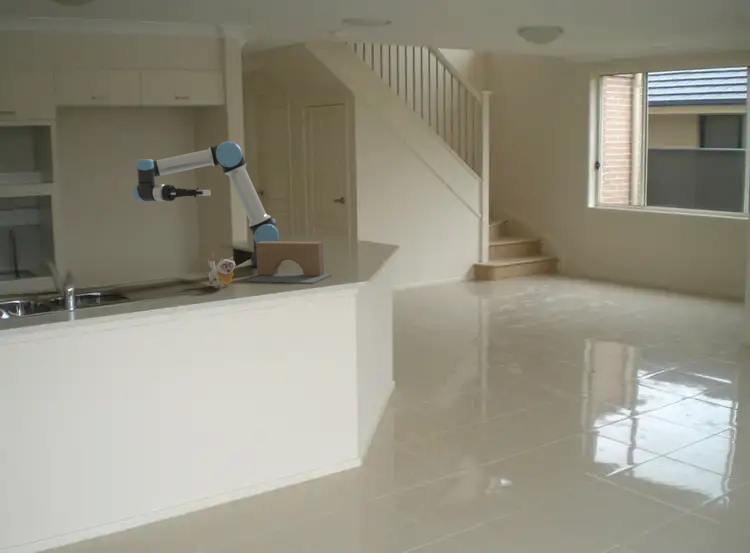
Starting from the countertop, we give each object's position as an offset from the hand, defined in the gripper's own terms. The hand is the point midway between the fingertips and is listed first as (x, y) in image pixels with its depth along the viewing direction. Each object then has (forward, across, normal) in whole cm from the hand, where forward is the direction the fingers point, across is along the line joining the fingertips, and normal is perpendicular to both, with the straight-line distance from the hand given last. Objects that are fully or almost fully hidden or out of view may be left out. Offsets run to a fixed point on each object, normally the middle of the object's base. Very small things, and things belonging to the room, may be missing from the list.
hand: (209, 192), depth 407 cm
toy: (+16, +23, -39) cm, 48 cm away
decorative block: (+19, -8, -31) cm, 37 cm away
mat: (+37, -2, -39) cm, 54 cm away
